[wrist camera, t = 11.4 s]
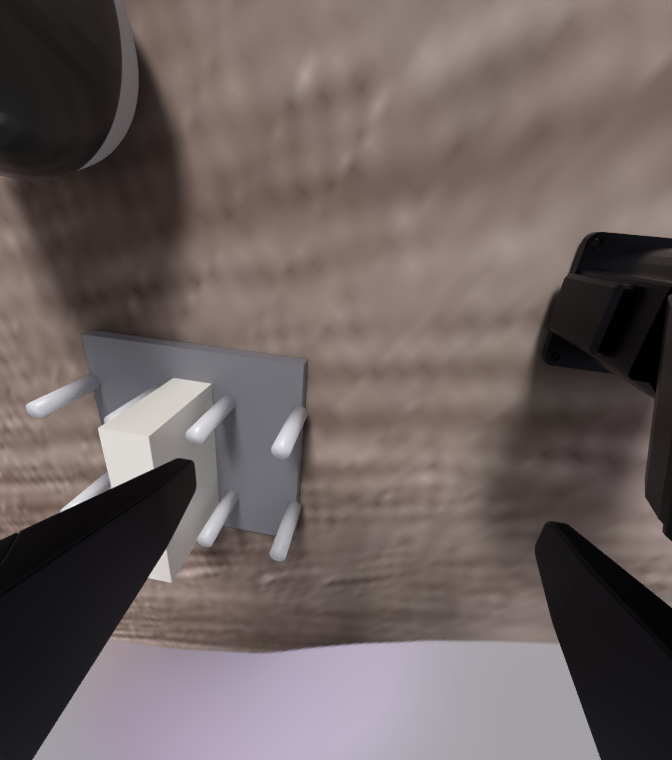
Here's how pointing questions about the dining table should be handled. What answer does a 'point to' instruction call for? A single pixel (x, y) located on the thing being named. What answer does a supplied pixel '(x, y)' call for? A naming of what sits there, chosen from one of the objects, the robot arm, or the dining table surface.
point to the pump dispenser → (63, 85)
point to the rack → (211, 421)
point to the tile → (166, 456)
